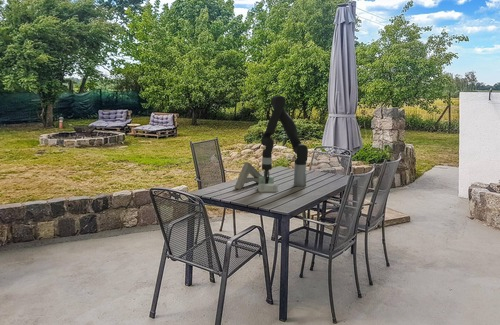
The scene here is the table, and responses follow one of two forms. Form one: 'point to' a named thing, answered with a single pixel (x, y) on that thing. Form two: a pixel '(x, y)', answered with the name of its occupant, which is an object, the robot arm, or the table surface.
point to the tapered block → (262, 180)
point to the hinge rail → (268, 187)
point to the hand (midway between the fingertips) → (266, 185)
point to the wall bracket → (244, 173)
